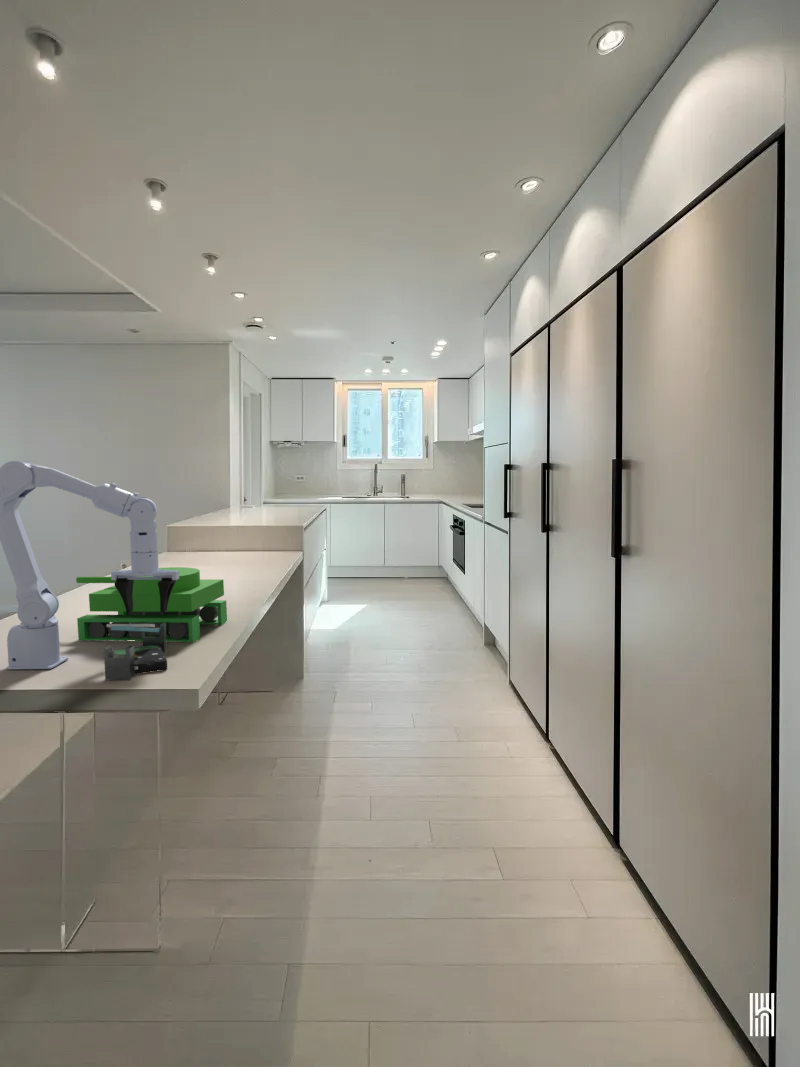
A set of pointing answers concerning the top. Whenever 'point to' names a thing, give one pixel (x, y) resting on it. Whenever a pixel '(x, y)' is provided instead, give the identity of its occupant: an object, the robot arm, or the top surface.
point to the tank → (155, 608)
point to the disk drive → (147, 658)
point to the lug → (119, 664)
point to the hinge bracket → (156, 638)
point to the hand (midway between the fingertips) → (146, 611)
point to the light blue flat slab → (135, 627)
